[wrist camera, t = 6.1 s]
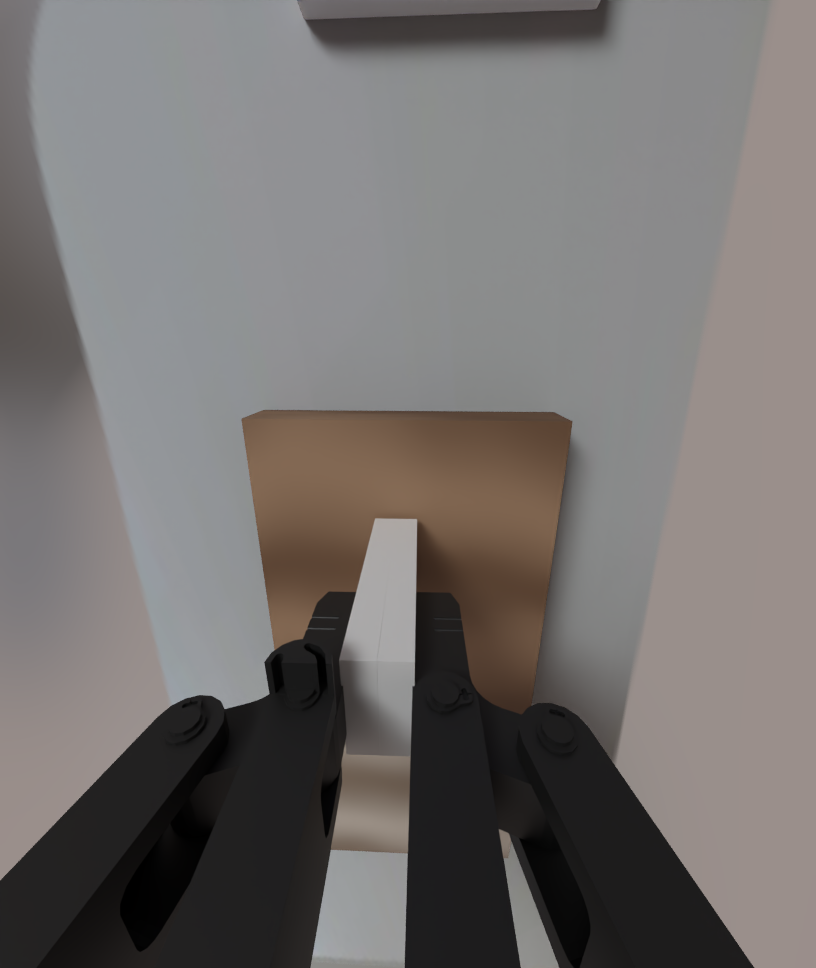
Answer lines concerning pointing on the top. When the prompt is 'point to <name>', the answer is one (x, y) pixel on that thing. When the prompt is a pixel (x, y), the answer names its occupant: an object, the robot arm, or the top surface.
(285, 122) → the top surface
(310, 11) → the hard drive
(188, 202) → the top surface
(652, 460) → the top surface
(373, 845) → the grey oak plank
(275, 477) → the walnut plank
